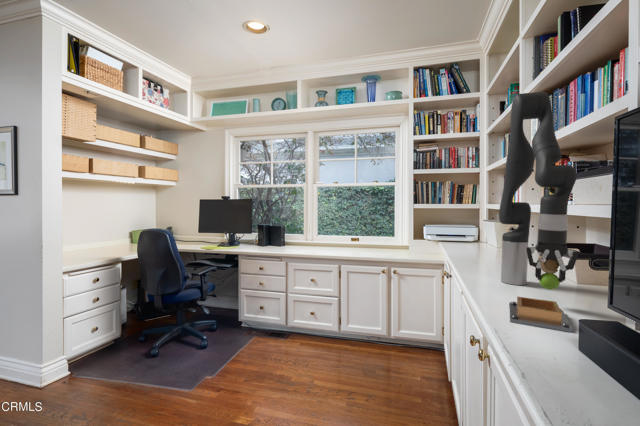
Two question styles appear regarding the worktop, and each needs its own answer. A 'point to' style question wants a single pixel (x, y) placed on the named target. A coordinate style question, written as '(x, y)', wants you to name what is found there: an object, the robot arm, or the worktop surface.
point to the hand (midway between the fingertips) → (549, 280)
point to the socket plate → (539, 314)
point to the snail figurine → (549, 274)
